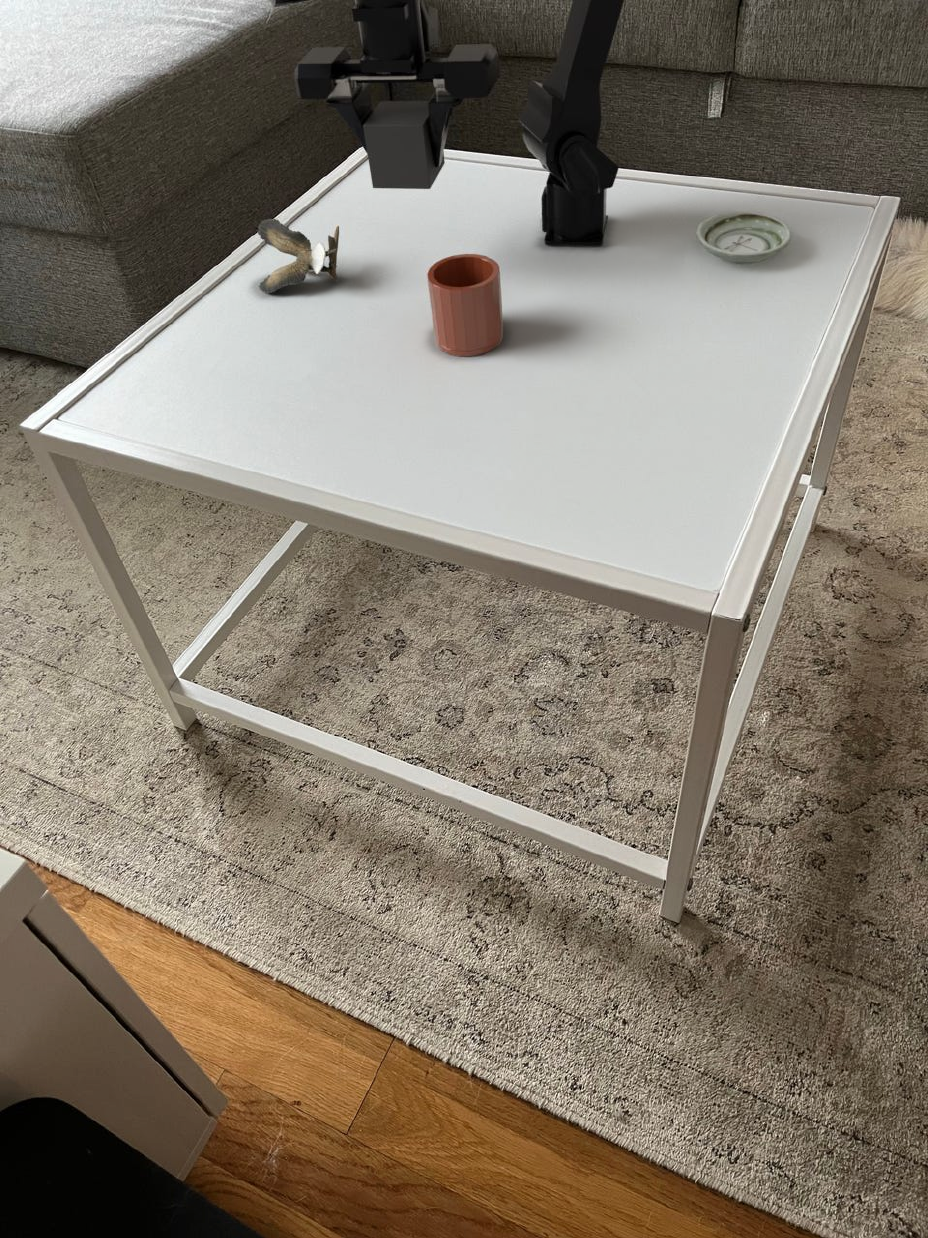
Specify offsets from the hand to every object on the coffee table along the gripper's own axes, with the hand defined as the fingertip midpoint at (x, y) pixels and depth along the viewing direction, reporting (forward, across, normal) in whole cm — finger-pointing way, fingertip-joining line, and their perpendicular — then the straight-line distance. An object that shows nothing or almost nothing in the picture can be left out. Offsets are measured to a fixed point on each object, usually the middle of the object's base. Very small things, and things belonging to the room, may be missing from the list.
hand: (408, 165), depth 94 cm
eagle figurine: (+12, +13, +3) cm, 18 cm away
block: (+1, 0, 0) cm, 1 cm away
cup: (+11, -8, +12) cm, 19 cm away
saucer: (+12, -34, -6) cm, 36 cm away
